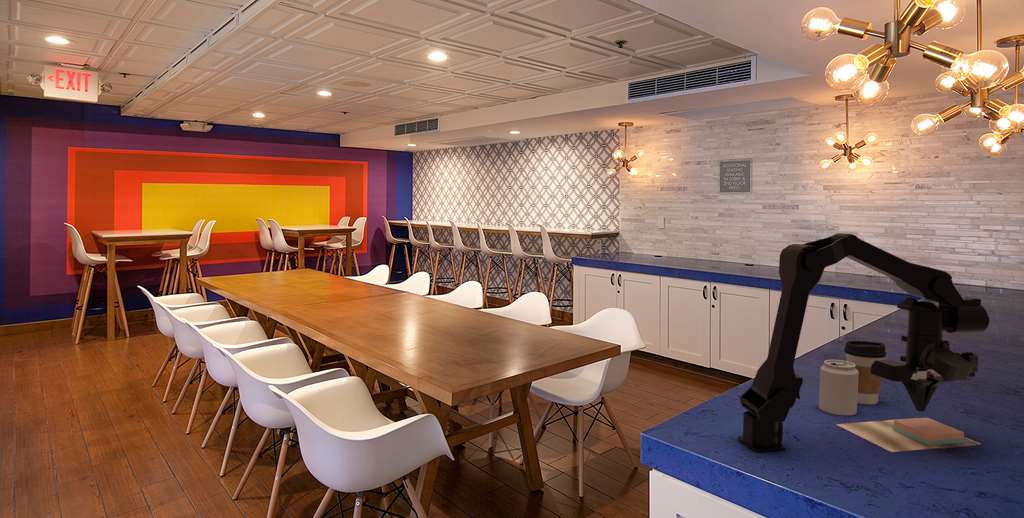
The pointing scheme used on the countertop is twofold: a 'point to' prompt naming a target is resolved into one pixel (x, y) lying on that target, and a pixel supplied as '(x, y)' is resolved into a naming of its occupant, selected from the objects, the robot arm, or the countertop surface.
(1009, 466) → the countertop surface
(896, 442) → the board
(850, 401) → the can
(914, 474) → the countertop surface
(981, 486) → the countertop surface
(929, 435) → the tile
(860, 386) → the coffee cup
